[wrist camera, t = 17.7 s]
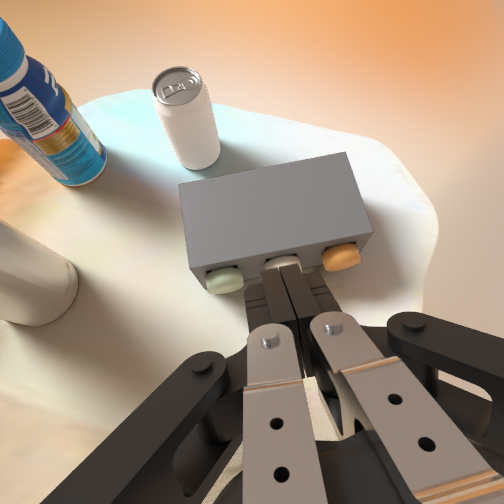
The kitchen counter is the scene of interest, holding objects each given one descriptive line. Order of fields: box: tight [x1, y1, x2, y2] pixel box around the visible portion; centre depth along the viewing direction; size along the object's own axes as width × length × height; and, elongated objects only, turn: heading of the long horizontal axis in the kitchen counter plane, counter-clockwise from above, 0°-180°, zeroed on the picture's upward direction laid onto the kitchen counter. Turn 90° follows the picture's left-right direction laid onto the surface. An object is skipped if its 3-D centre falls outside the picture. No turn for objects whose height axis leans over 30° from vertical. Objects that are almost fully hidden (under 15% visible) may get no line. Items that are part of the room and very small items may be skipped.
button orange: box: [321, 243, 361, 271], centre depth 39 cm, size 4×5×4 cm
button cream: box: [264, 254, 303, 273], centre depth 39 cm, size 4×5×4 cm
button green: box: [205, 266, 244, 294], centre depth 39 cm, size 4×5×4 cm
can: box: [152, 66, 220, 170], centre depth 44 cm, size 6×6×12 cm
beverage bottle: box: [0, 17, 107, 186], centre depth 41 cm, size 8×8×20 cm
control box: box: [178, 152, 373, 288], centre depth 41 cm, size 19×10×8 cm, turn 101°
